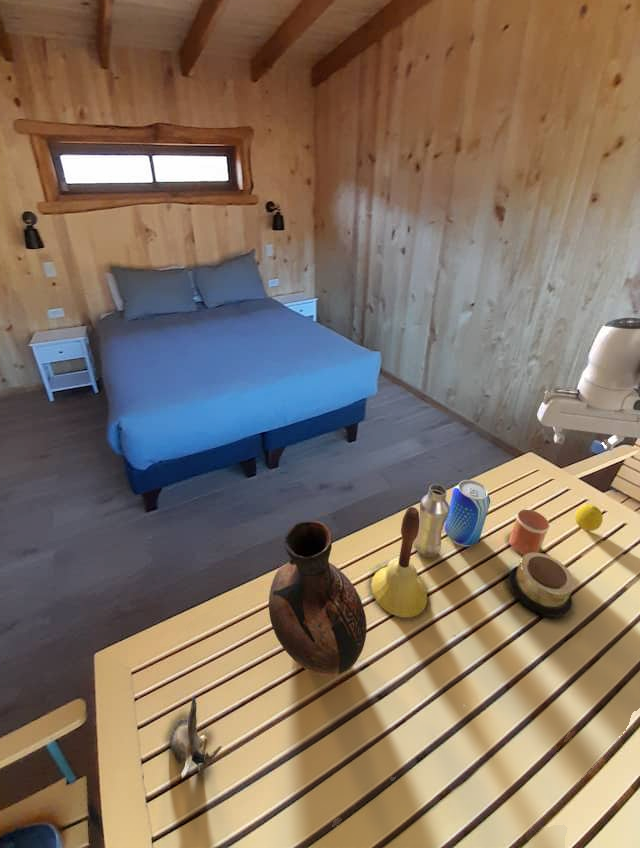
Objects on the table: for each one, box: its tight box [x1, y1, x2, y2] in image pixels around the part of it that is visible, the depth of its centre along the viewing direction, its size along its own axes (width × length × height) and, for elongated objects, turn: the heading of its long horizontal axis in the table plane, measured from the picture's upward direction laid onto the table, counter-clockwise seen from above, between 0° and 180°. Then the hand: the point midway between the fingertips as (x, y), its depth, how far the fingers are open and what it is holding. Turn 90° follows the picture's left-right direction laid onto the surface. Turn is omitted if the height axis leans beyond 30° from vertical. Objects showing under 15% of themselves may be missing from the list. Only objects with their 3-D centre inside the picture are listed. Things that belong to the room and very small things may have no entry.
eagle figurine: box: [169, 695, 222, 779], centre depth 66 cm, size 8×7×9 cm
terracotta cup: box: [508, 508, 550, 556], centre depth 99 cm, size 7×7×9 cm
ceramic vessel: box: [268, 520, 368, 676], centre depth 75 cm, size 21×18×30 cm
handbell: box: [370, 506, 428, 618], centre depth 85 cm, size 12×12×25 cm
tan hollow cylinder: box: [507, 552, 575, 620], centre depth 88 cm, size 12×12×8 cm
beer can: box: [444, 479, 491, 547], centre depth 101 cm, size 8×8×16 cm
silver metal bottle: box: [412, 483, 450, 558], centre depth 96 cm, size 6×7×20 cm
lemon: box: [574, 503, 604, 532], centre depth 103 cm, size 6×6×8 cm
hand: (581, 445), depth 91 cm, fingers open, 8 cm apart
